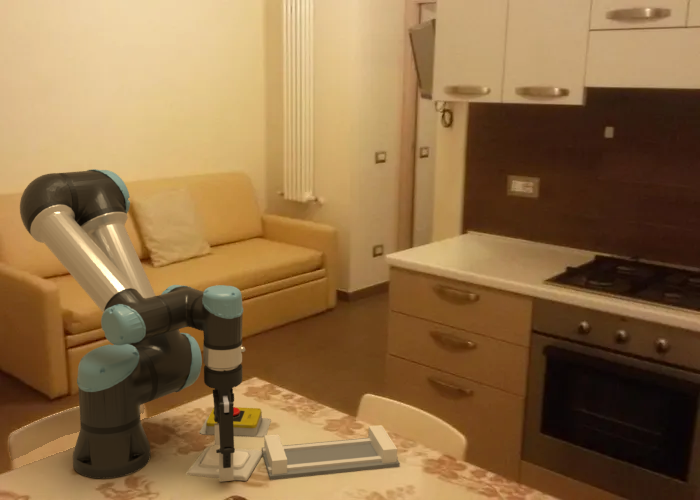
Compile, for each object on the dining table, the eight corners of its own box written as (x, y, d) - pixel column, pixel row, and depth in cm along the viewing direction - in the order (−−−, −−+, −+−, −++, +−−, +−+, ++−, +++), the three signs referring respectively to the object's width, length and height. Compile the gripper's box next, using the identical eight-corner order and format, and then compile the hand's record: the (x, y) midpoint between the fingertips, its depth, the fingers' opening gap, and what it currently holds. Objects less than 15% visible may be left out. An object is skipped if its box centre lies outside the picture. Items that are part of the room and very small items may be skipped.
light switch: (204, 436, 158) (261, 439, 156) (205, 454, 159) (263, 457, 157) (184, 461, 148) (245, 464, 146) (185, 480, 149) (247, 484, 146)
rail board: (269, 479, 147) (270, 462, 146) (261, 450, 159) (261, 434, 158) (399, 466, 154) (400, 449, 153) (382, 439, 165) (383, 423, 165)
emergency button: (207, 400, 173) (271, 403, 173) (207, 418, 174) (271, 421, 174) (198, 418, 164) (265, 421, 164) (198, 436, 165) (265, 439, 165)
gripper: (249, 386, 137) (249, 493, 142) (236, 343, 159) (236, 437, 164) (207, 389, 135) (209, 498, 140) (200, 345, 157) (201, 440, 162)
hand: (223, 465), depth 152 cm, fingers open, 11 cm apart
